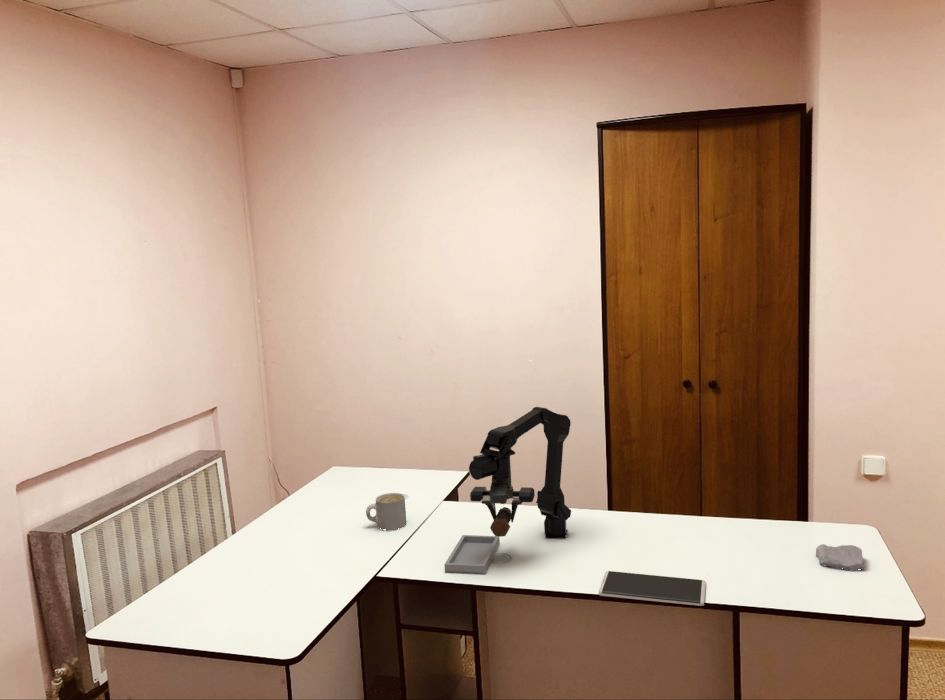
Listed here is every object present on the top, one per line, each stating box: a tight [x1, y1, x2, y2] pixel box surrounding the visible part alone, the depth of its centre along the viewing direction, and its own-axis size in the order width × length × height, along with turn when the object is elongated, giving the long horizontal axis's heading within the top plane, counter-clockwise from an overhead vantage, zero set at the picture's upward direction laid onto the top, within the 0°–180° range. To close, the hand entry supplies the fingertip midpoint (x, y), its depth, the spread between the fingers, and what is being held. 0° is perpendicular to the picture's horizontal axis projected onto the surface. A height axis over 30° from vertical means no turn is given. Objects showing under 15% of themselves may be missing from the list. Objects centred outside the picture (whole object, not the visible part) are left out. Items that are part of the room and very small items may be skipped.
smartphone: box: [598, 570, 707, 607], centre depth 200 cm, size 13×27×2 cm, turn 71°
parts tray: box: [444, 534, 501, 575], centre depth 226 cm, size 12×22×2 cm, turn 167°
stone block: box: [815, 543, 866, 571], centre depth 208 cm, size 12×5×10 cm
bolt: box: [489, 506, 512, 538], centre depth 223 cm, size 6×5×15 cm
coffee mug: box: [365, 492, 407, 531], centre depth 256 cm, size 13×10×10 cm
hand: (503, 521), depth 224 cm, fingers closed on bolt, 5 cm apart
